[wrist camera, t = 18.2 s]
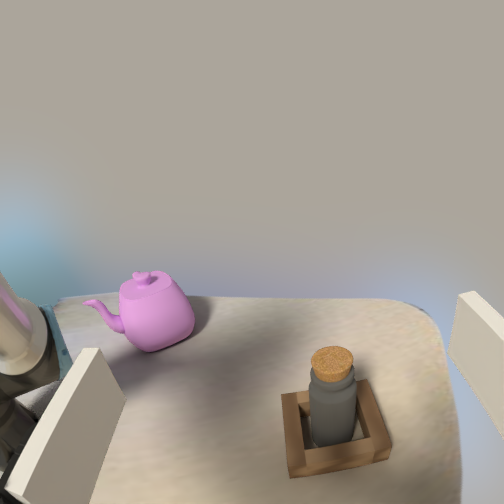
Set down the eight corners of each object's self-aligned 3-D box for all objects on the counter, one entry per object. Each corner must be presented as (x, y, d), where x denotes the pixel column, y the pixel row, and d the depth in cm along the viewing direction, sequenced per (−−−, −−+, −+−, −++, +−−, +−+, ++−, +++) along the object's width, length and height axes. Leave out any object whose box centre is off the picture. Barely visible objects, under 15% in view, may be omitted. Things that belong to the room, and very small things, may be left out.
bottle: (321, 456, 36) (319, 384, 30) (305, 428, 41) (298, 352, 36) (360, 440, 37) (368, 364, 32) (341, 413, 42) (342, 336, 37)
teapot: (176, 300, 85) (161, 249, 80) (208, 335, 68) (191, 272, 63) (98, 331, 75) (77, 279, 70) (112, 376, 58) (82, 315, 52)
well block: (289, 478, 33) (287, 466, 32) (283, 408, 46) (281, 394, 44) (388, 459, 33) (391, 445, 31) (365, 394, 45) (366, 379, 44)
